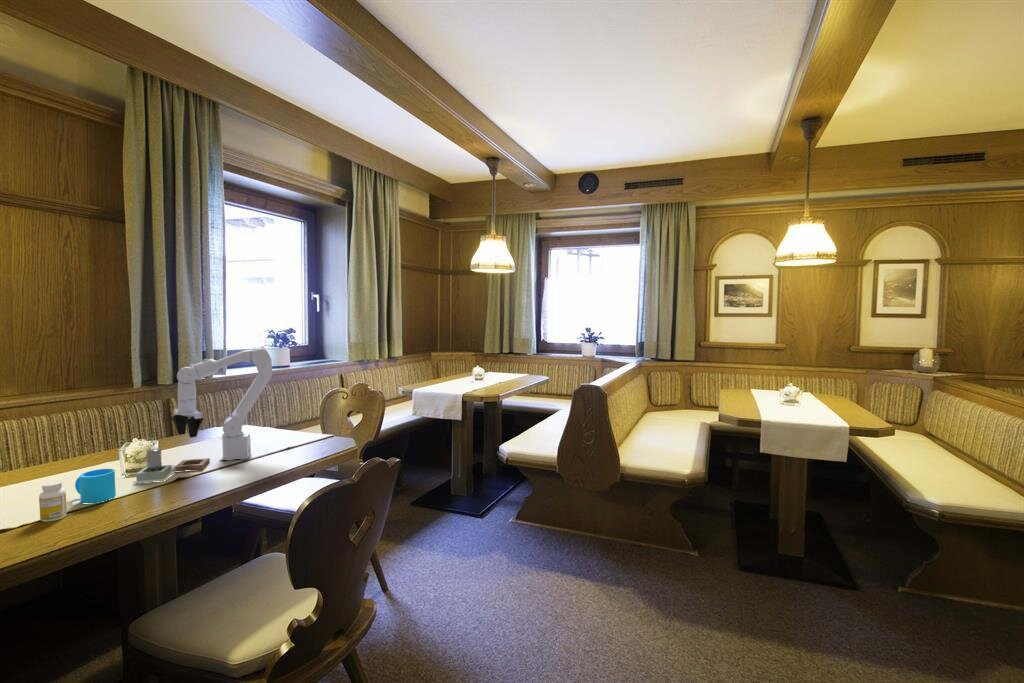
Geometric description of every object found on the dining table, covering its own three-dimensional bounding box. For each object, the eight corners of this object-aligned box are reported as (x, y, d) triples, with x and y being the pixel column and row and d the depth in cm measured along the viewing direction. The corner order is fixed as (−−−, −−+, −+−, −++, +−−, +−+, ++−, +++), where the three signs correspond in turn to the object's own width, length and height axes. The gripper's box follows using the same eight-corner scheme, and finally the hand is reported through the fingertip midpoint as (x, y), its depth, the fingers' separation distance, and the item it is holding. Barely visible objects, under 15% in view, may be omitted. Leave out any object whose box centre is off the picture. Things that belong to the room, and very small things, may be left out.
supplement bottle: (51, 514, 140) (49, 480, 139) (72, 513, 140) (70, 479, 140) (34, 522, 134) (32, 487, 134) (56, 522, 135) (54, 486, 134)
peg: (163, 473, 172) (162, 448, 172) (159, 477, 168) (158, 451, 168) (150, 474, 171) (149, 448, 170) (145, 478, 167) (144, 452, 167)
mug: (122, 495, 154) (121, 469, 154) (96, 505, 146) (95, 478, 146) (90, 493, 156) (89, 467, 156) (62, 502, 148) (61, 475, 148)
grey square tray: (174, 473, 175) (174, 464, 175) (164, 481, 167) (164, 472, 166) (144, 475, 173) (144, 466, 173) (133, 484, 164) (132, 474, 164)
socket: (209, 463, 187) (209, 458, 187) (202, 470, 179) (202, 464, 179) (183, 465, 185) (183, 460, 184) (174, 472, 176) (174, 466, 176)
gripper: (164, 398, 186) (165, 435, 187) (186, 402, 179) (187, 440, 180) (184, 396, 192) (184, 431, 193) (206, 400, 185) (207, 436, 186)
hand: (187, 435), depth 187 cm, fingers open, 7 cm apart
